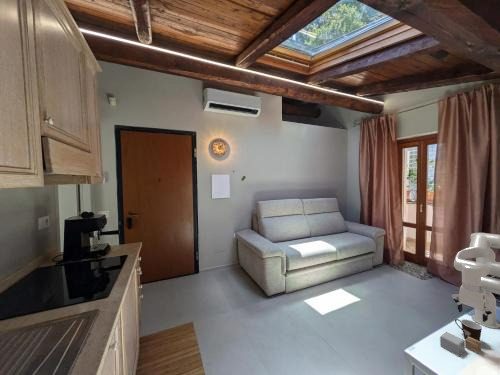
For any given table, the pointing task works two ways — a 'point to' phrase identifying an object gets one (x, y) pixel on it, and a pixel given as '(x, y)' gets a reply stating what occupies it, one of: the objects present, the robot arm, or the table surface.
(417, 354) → the table surface
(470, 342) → the walnut block
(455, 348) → the stoneware box
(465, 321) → the coffee mug
